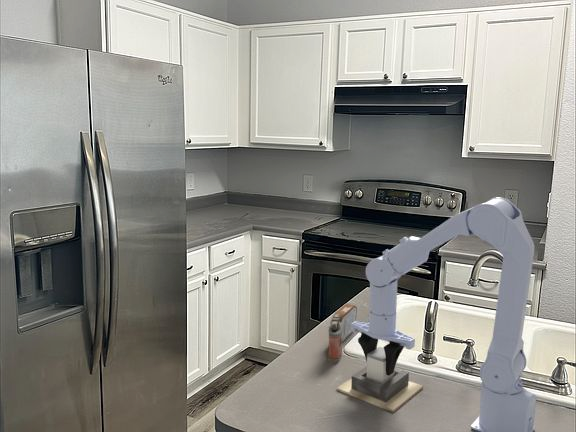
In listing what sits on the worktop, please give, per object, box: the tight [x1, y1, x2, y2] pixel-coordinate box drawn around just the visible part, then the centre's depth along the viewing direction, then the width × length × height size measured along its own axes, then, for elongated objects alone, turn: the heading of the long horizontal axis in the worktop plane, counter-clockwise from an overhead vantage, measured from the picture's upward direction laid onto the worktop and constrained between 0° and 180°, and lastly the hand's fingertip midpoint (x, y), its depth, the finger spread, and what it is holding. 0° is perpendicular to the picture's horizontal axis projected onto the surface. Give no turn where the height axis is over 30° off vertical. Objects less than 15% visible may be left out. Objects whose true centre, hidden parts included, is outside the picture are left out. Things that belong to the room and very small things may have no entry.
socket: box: [336, 365, 424, 414], centre depth 117 cm, size 14×13×4 cm
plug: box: [366, 346, 396, 384], centre depth 117 cm, size 4×5×6 cm
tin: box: [329, 302, 358, 343], centre depth 144 cm, size 15×3×8 cm, turn 153°
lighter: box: [327, 313, 343, 364], centre depth 133 cm, size 8×3×10 cm, turn 168°
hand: (380, 370), depth 117 cm, fingers closed on plug, 4 cm apart
